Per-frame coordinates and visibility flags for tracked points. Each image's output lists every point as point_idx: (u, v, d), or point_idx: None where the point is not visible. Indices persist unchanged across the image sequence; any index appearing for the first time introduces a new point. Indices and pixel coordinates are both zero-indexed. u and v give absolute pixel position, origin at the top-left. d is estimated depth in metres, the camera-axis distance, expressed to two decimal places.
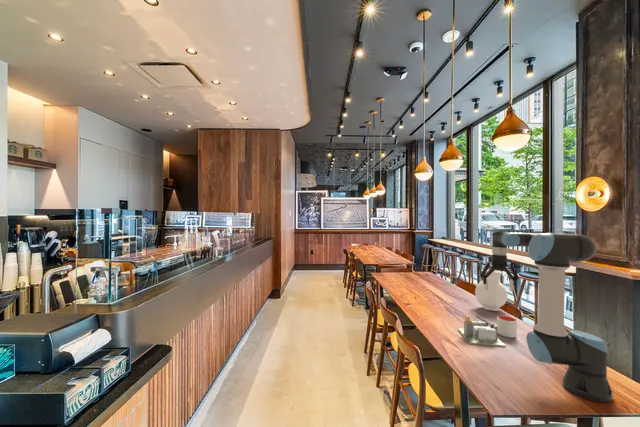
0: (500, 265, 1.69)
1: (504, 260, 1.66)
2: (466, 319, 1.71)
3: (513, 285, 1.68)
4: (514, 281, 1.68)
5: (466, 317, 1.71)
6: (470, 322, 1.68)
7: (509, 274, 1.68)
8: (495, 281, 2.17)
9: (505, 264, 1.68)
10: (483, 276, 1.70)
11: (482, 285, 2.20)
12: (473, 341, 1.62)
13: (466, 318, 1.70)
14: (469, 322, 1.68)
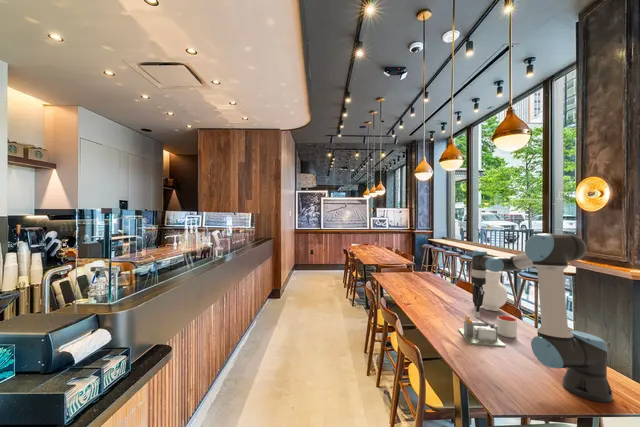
0: (476, 286, 1.69)
1: (472, 281, 1.69)
2: (466, 319, 1.71)
3: (476, 311, 1.69)
4: (476, 307, 1.68)
5: (466, 317, 1.71)
6: (470, 322, 1.68)
7: (475, 298, 1.69)
8: (495, 281, 2.17)
9: (478, 287, 1.67)
10: (473, 300, 1.73)
11: (482, 285, 2.20)
12: (473, 341, 1.62)
13: (466, 318, 1.70)
14: (469, 322, 1.68)
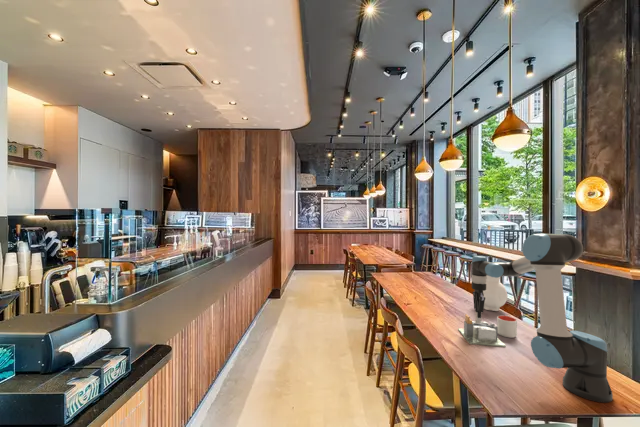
0: (477, 292, 1.69)
1: (473, 287, 1.69)
2: (466, 319, 1.71)
3: (477, 317, 1.68)
4: (478, 313, 1.68)
5: (466, 317, 1.71)
6: (470, 322, 1.68)
7: (476, 304, 1.69)
8: (495, 281, 2.17)
9: (478, 293, 1.67)
10: (474, 307, 1.72)
11: None
12: (473, 341, 1.62)
13: (466, 318, 1.70)
14: (469, 322, 1.68)
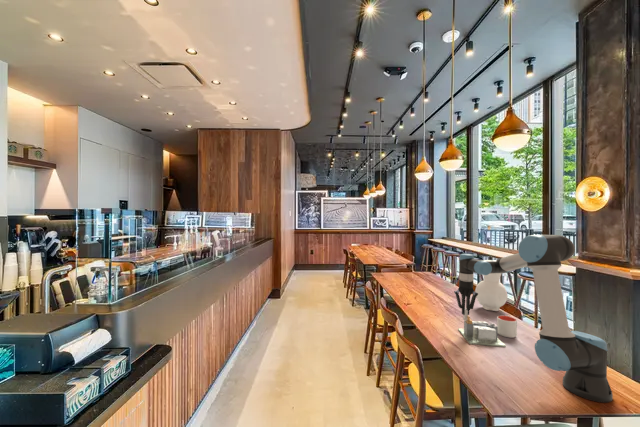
0: (467, 290, 1.69)
1: (470, 286, 1.67)
2: None
3: (467, 314, 1.70)
4: (468, 310, 1.70)
5: None
6: (470, 322, 1.68)
7: (468, 302, 1.69)
8: (495, 281, 2.17)
9: (471, 290, 1.69)
10: (461, 306, 1.70)
11: (482, 285, 2.20)
12: (473, 341, 1.62)
13: None
14: (469, 322, 1.68)
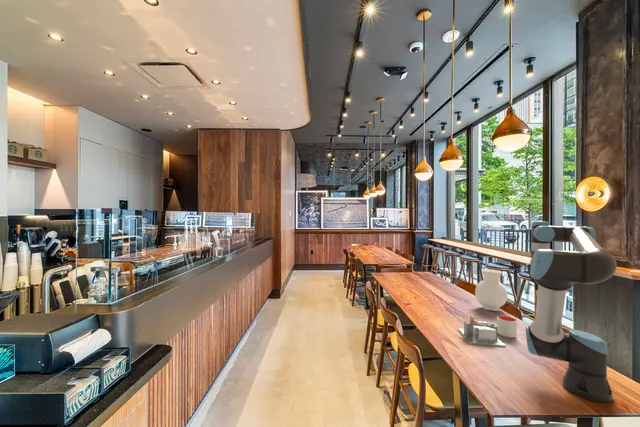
0: None
1: None
2: (471, 319, 1.70)
3: None
4: None
5: (471, 317, 1.70)
6: (475, 322, 1.68)
7: None
8: (495, 281, 2.17)
9: None
10: (535, 280, 1.48)
11: (482, 285, 2.20)
12: (473, 341, 1.62)
13: (471, 319, 1.70)
14: (474, 322, 1.68)
